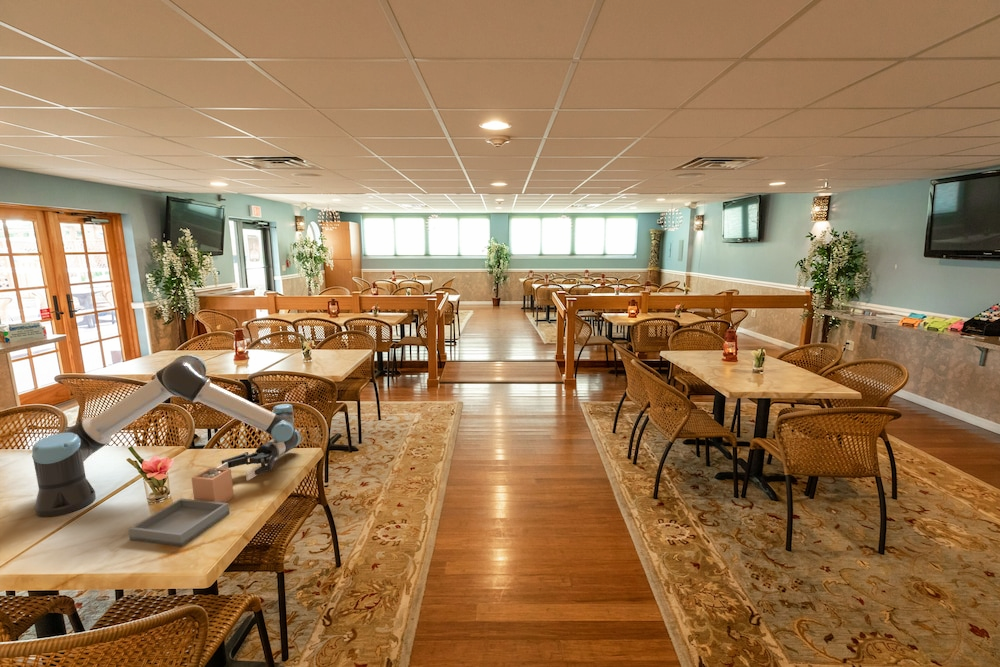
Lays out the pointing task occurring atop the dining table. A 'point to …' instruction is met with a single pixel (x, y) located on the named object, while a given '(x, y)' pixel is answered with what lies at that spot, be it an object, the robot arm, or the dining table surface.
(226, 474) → the peach box
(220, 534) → the dining table surface
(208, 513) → the slate dish
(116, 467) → the dining table surface
